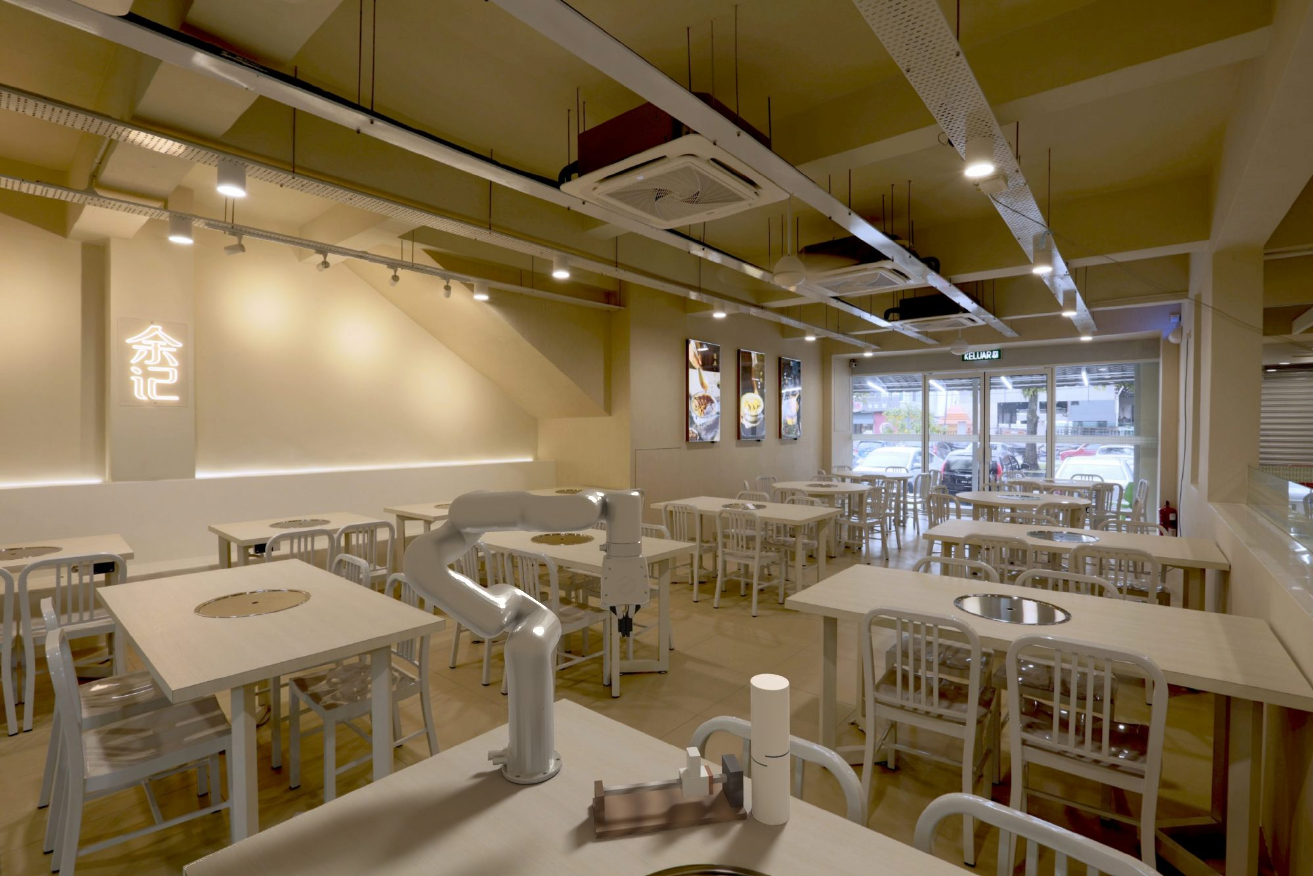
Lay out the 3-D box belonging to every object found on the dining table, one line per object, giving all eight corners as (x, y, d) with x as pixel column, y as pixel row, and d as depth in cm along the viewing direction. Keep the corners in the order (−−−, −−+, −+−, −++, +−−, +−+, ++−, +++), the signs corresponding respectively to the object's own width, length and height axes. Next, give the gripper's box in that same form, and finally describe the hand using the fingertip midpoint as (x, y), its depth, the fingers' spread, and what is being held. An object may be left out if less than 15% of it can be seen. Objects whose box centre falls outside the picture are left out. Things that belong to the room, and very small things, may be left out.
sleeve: (683, 798, 113) (682, 758, 113) (679, 786, 117) (678, 748, 117) (708, 794, 114) (708, 755, 114) (704, 783, 118) (703, 745, 117)
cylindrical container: (790, 827, 110) (789, 691, 109) (750, 822, 111) (749, 688, 111) (789, 803, 117) (788, 675, 116) (752, 799, 118) (751, 672, 118)
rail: (596, 838, 107) (595, 794, 107) (592, 804, 117) (591, 763, 117) (747, 819, 112) (746, 776, 112) (731, 787, 122) (731, 748, 122)
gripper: (589, 554, 122) (591, 644, 123) (662, 551, 125) (663, 638, 125) (587, 547, 130) (588, 631, 130) (655, 544, 132) (656, 627, 133)
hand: (625, 635), depth 128 cm, fingers closed
